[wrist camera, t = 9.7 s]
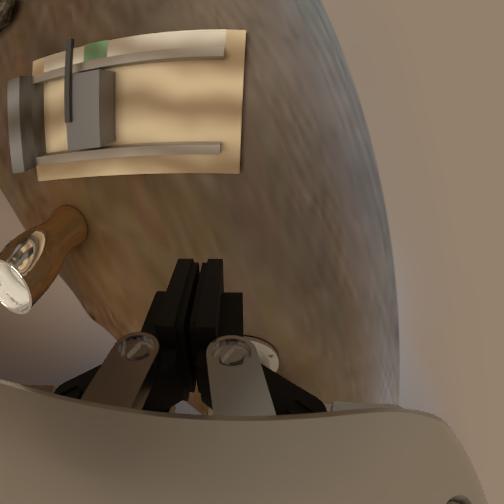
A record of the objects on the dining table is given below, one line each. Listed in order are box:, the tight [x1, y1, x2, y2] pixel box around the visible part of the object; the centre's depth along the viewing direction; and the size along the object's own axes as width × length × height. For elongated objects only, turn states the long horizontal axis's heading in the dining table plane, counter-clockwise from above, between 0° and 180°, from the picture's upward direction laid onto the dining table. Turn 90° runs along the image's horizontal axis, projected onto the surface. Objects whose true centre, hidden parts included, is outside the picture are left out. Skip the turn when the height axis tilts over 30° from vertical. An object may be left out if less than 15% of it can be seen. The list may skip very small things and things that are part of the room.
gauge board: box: [8, 29, 246, 181], centre depth 26 cm, size 16×26×6 cm, turn 87°
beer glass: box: [0, 205, 87, 314], centre depth 29 cm, size 7×7×15 cm
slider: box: [64, 38, 115, 151], centre depth 24 cm, size 12×4×5 cm, turn 177°
